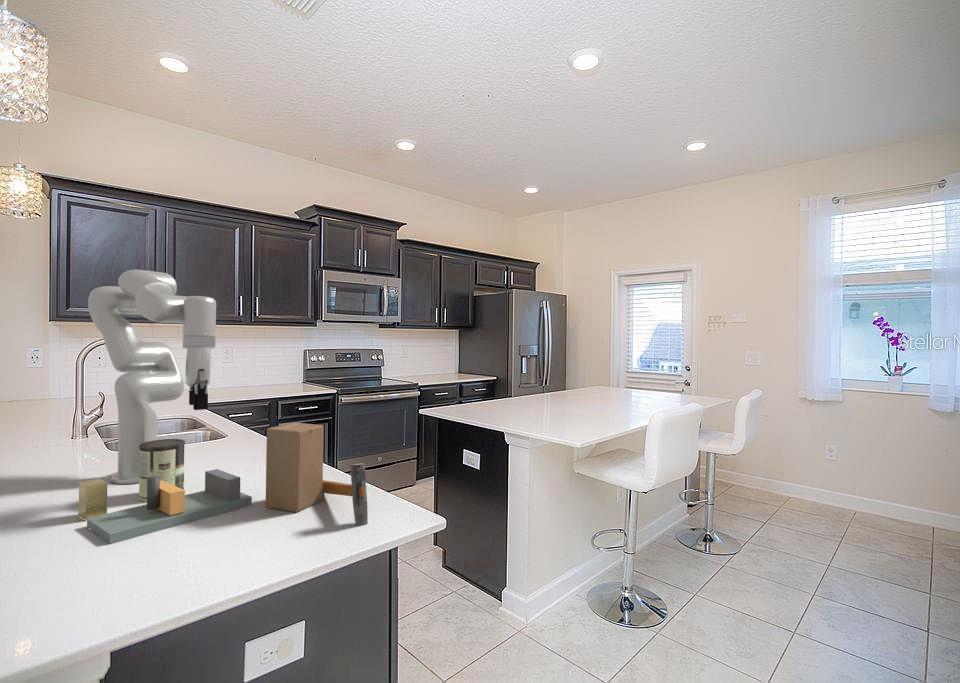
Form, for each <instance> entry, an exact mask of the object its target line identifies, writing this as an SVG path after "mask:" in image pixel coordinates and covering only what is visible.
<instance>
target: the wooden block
mask: <svg viewBox="0 0 960 683" xmlns="http://www.w3.org/2000/svg"><path fill="white" fill-rule="evenodd" d="M324 428H325V427H324V425H321V424H313V423H303V422H291V423H285V424H281V425H277V426H273V427H269V428H267V429H266V451H265V453H266V455H265V457H266V458H265V459H266V462H265V467H266V468H265V508H269V509H276V510H281V511H288V512H293V513H299V512H301V511H303V510H305V509H307V508H309V507H311V506H313V505H315V504H317V503H319V502H321V501H322V500H323V493H322V491H323V480H324V436H325V435H324Z"/></svg>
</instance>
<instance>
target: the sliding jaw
mask: <svg viewBox="0 0 960 683" xmlns="http://www.w3.org/2000/svg"><path fill="white" fill-rule="evenodd" d="M185 495H186V490H185V489H184V490H183V489H181V488H179V487H177V486H174V485H172V484H170V483H167V482H165V481H163V480H162V481H160V477H159V476H153V477H149V478H147V501H146V504H147V510H154V509H159V510H161V511H162V512H164V513H166V514H168V515H174V514H178V513H182V512H185Z"/></svg>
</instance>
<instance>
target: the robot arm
mask: <svg viewBox="0 0 960 683" xmlns="http://www.w3.org/2000/svg"><path fill="white" fill-rule="evenodd" d="M117 283H118V286H116V285H115V286H114V285H107V286H99V287H95V288H94V289H92V290H91V291H90V293H89V296H88V300H87V303H88V304H87V306H88V312H89V315H90V317H91V318H90V319H91V320H92V321H93V323H94V325H95V327H96V328H97V329H98V330H99V332H100V334H101V336H102V338H103V340H104V344H105V347H106V351H107V353H108V355H109V358H110V362H111V364H112V366H113V367H114V369H115V370H116V371H117V372H119V373H123V374H121V375H120V376H118V377H117V379H116V380H115V382H114V393H115V400H116V404H117V419H118V420H117V421H118V422H117V425H118V428H117V431H118V432H117V442H118V443H117V473H115V474H113V475H111V477H110V482H111V483H113V484H119V485H121V484H122V485H123V484H124V485H126V484H127V485H128V484H129V485H130V484H136V483H137V484H139V445H140V444H142V443H144V442H148V441H154V440H158V415H157V414H156V412H155V411H154V409H153V408H152V407H151V406H150V404H151V403H152V404H153V403H160V402H169V401H174V400H177V399H179V398H181V396H182V395H183V394H184V390H185V384H186V385H187V386H188V387H189V390H188V392H189V393H188V404H189V405H190V406H192V407H193V410H195V411H201V410H208V408H209V394H208V392H209V391H208V386H209V385H210V382H211V358H212V356H211V349H212V350H213V349H216V341H217V340H216V339H217V338H216V335H217V334H216V333H217V332H216V327H217V324H216V323H217V301H216V300H215V299H214V298H213V297H211V296H202V295H189V296H187V295H186V296H184V295H176V294H177V290H178V289H177V288H178V286H177V282H176V279H175V278H174V277H173V276H172V275H171V274H169V273H166V272H162V271H160V272H159V271H154V270H153V271H152V270H147V269H146V270H145V269H129V270H126V271H124V272H123V273H121V275H120V276H119V277H118V282H117ZM121 315H129V316H130V315H133V316H141V317H144V318H145V319H147V320H149V321H151V322H153V323H154V322H155V323H159V324H182V325H183V326H182V349H186V355H185V377H184V378H183V375H182V373H181V370H180V367H179V365H178V363H177V359H176V357H175V354H174V352H173V350H172V348H171V347H170V346H169V345H168V344H166V343H164V342H162V341H161V342H160V341H144V340H141V338H140V337H139V334H138V331H137V328H136V327H135V326H134V325H133V324H132V323H131V322H130V321H128V320H127V319H126V318H124V317H123V316H121Z"/></svg>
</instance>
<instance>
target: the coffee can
mask: <svg viewBox="0 0 960 683" xmlns="http://www.w3.org/2000/svg"><path fill="white" fill-rule="evenodd" d="M185 445H186V440H185V439H180V438H166V439H165V438H163V439H157V440H154V441H148V442H144V443H142V444H140V445H139V483H138V485H139V486H138V500H139V501H143V502H147V478H149V477H153V476H159V477H160V481H162V480H163V481H165V482H167V483H170V484H172V485H174V486H177V487H179V488H181V489H183V490H185Z"/></svg>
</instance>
